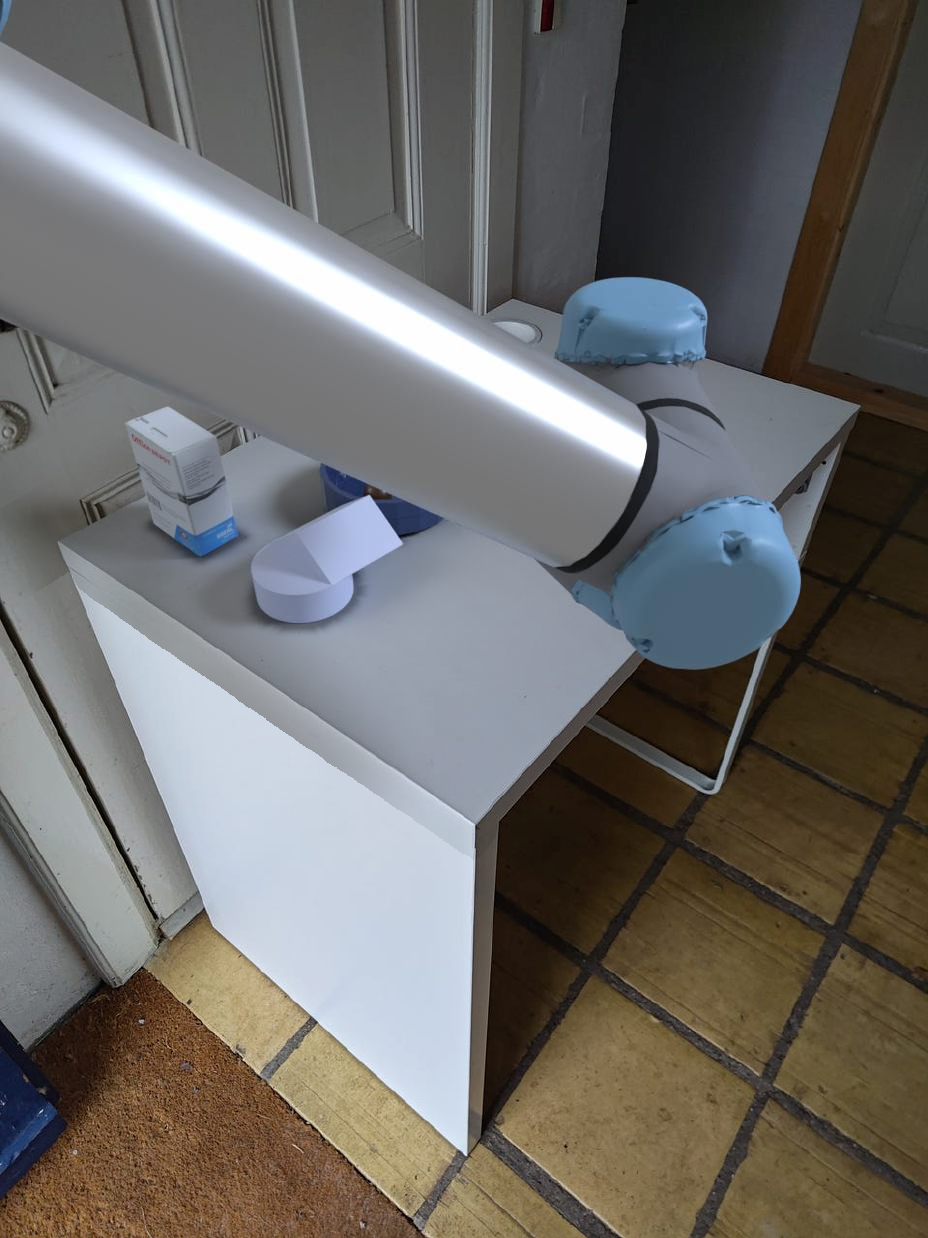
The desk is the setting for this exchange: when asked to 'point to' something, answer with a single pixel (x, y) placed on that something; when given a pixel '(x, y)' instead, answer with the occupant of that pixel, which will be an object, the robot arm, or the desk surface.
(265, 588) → the wedge on round base
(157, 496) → the ink box
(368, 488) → the ball
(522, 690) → the desk surface
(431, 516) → the bowl
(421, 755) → the desk surface
